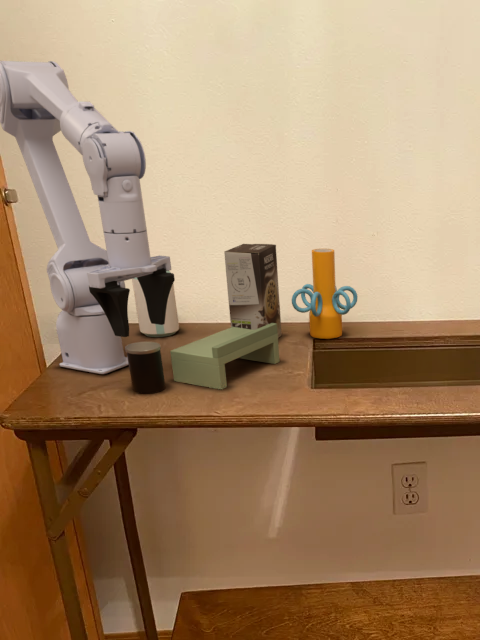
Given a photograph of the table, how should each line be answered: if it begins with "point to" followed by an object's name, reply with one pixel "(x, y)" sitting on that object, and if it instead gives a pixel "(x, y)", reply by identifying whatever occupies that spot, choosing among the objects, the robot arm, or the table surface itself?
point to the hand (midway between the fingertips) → (140, 329)
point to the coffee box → (253, 286)
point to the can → (143, 317)
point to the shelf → (223, 354)
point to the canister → (145, 367)
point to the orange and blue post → (324, 297)
